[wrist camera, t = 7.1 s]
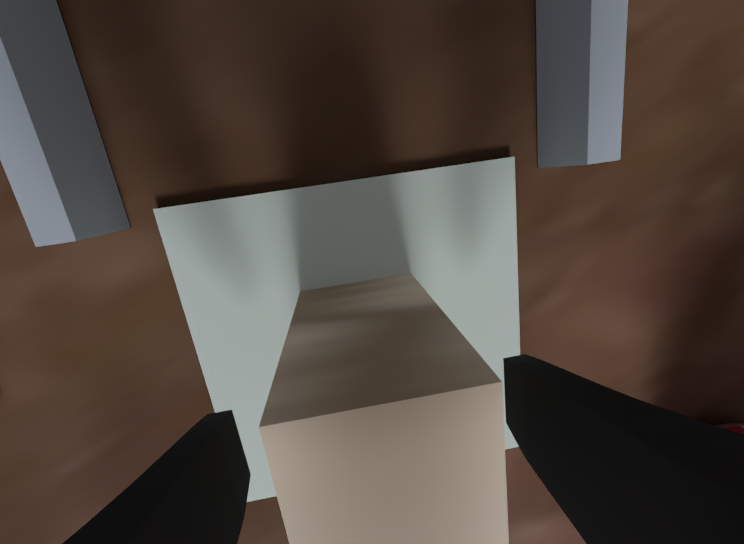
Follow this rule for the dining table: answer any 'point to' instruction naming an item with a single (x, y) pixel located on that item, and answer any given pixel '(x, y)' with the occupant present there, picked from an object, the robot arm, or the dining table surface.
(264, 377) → the pad
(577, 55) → the frame
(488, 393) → the block
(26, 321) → the dining table surface
